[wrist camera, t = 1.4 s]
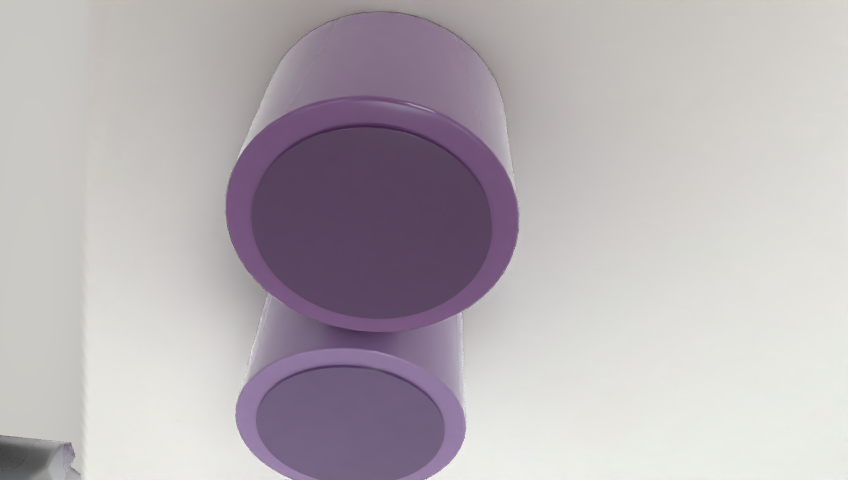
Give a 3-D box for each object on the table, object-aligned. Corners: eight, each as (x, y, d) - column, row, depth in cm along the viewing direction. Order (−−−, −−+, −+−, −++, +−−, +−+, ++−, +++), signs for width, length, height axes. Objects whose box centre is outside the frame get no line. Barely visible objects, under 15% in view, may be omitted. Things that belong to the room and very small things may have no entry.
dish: (265, 226, 21) (229, 338, 18) (478, 250, 22) (485, 365, 18) (266, 370, 25) (237, 486, 22) (446, 388, 26) (447, 505, 22)
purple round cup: (263, -7, 17) (215, 79, 13) (529, 29, 17) (551, 121, 14) (265, 210, 21) (228, 321, 17) (482, 235, 21) (489, 349, 18)
